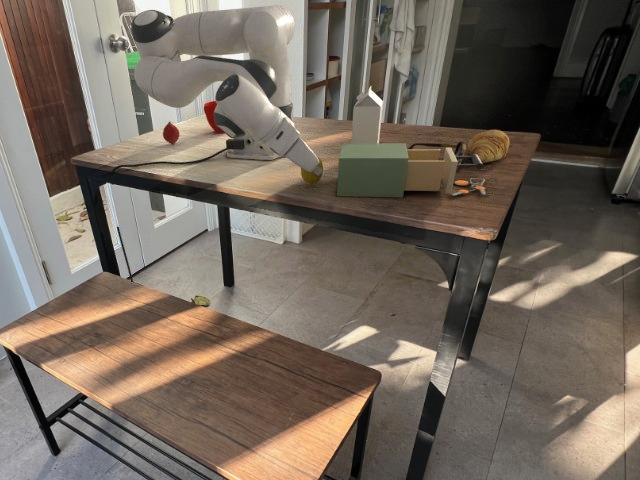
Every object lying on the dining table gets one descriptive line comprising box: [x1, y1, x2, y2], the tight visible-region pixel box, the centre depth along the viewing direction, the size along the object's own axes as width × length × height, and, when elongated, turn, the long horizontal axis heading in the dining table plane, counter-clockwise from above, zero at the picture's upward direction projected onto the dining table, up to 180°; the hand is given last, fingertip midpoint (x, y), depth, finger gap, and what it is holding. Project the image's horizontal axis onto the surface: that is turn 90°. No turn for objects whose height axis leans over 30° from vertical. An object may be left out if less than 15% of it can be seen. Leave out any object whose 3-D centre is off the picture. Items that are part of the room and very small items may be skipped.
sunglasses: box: [407, 140, 467, 172], centre depth 118 cm, size 14×15×5 cm
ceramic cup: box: [203, 100, 225, 134], centre depth 167 cm, size 13×17×10 cm
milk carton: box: [350, 85, 384, 144], centre depth 121 cm, size 7×7×19 cm
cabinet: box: [336, 142, 408, 198], centre depth 105 cm, size 15×12×9 cm
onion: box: [162, 121, 180, 146], centre depth 155 cm, size 6×6×8 cm
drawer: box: [404, 147, 484, 195], centre depth 102 cm, size 20×11×7 cm, turn 75°
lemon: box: [300, 156, 324, 186], centre depth 110 cm, size 6×6×8 cm
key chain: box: [451, 177, 487, 197], centre depth 102 cm, size 13×7×1 cm, turn 151°
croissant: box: [467, 129, 510, 164], centre depth 120 cm, size 21×10×8 cm, turn 143°
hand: (314, 168), depth 110 cm, fingers open, 6 cm apart
